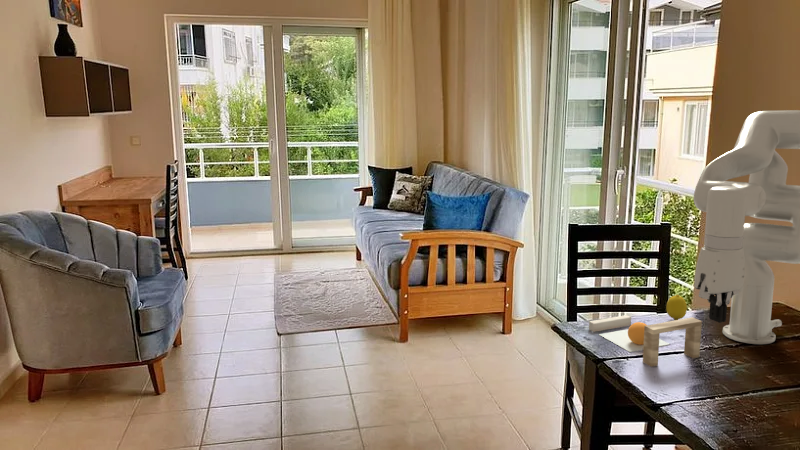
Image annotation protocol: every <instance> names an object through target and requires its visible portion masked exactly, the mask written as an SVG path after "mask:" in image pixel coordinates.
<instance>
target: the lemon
mask: <svg viewBox="0 0 800 450" xmlns="http://www.w3.org/2000/svg"><path fill="white" fill-rule="evenodd" d="M687 305H688V304H687V301H686V300H685V298H684V297H682V296H681V295H679V294H675V295H673V296H671V297H669V298H668V300H667V302H666V306H665V307H666V313H667V315H668V316H669V317H670V318H671V319H673V321H675V320H680V319H684V317H685V316H686V314H687V310H688V306H687Z"/></svg>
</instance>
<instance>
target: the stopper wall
mask: <svg viewBox="0 0 800 450" xmlns="http://www.w3.org/2000/svg"><path fill="white" fill-rule="evenodd" d="M631 325H632V317H631V316H629V315H627V314H624V315H619V316H613V317H608V318H601V319H596V320H590V321H588V330H589V331H590V332H593V333H594V332H600V331H606V330H607V331H608V330H612V329H617V328H618V329H619V328H625V327H630V326H631Z"/></svg>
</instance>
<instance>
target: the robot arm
mask: <svg viewBox="0 0 800 450" xmlns="http://www.w3.org/2000/svg"><path fill="white" fill-rule="evenodd" d="M776 149H778V150H779V149H782V150H783V149H785V150H790V149H792V150H800V110H799V109H796V110H795V109H793V110H790V109H788V110H787V109H785V110H784V109H783V110H762V111H761V110H759V111H756V112H753V113H751V114H750V115H748V116H747V117H746V119H745V120H744V122H743V125H742V127H741V129H740V132H739V134H738V137H737V139H736V141H735V144H734V147H733V149H732V150H730V151H727V152H725V153H724V154H722V155H720V156H719V157H717V158H715V159H714V160H712V161H710V163H709V164H707V165H706V166H705V167H704V168H703V170H702V173H701V174H700V176H699V178H698V180H697V183H696V186H695V190H694V193H693V202H694V203H693V204H694V206H695V208H697V209H698V210H699V211H701V212H704V213H706V215H705V228H704V238H703V239H704V242H703V247H701V248H700V250H699V253H698V254H699V255H698V258H697V263H696V268H695V274H694V289H696V290H699V292H698V297H699V298H701V299H704V300H707V303H709V313H708V314H709V316H708V319H710V320H712V321H714V322H716V323H718V324H719V323H726V321H727V310H728V305H730V313H729V314H730V315H729V324H726V325H724V326H723V327H722V334H723V335H724V336H725V337H726V338H728V339H730V340H733V341H736V342H740V343H744V344H749V345H750V344H752V345H769V344H772V343H774V342H775V341H776V339H777V338H776V334H775V333H774V332H773V330H772V329H774V328H777V327H781V326H782V325H783V322H782V320H781V319H773V320H771V319H772V308H773V298H774V297H773V296H774V288H775V275H774V272H773V269H772V267H770V265H769V264H768V261H769V262H778V263H783V264H784V263H786V264H793V265H794V264H795V265H796V264H797V265H798V264H800V185H793V184H787V177H788V171H789V167H788V164H787V162H786V161H785V160H784V158H783V157H782V156H781V155H780V154H779V153H778V151H776ZM748 175H749V178H748V182H745V181H731V179H735V178H740V177H745V176H748ZM746 217H750V218H755V219H759V220H760V219H761V220H767V221H780V222H788V223H791V224H792V225H783V224H781V225H779V224H774V223H773V224H772V223H760V222H745V220H746Z"/></svg>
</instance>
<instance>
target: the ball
mask: <svg viewBox="0 0 800 450" xmlns="http://www.w3.org/2000/svg"><path fill="white" fill-rule="evenodd" d="M647 325H648V324H647V323H644V322H642V321H641V322H639V321H636V322H633V323H631V325H630V326H628V336H629V339H630V340H631V341H632V342H633V343H635V344H638V345H643V344H644V328H645V326H647Z"/></svg>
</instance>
